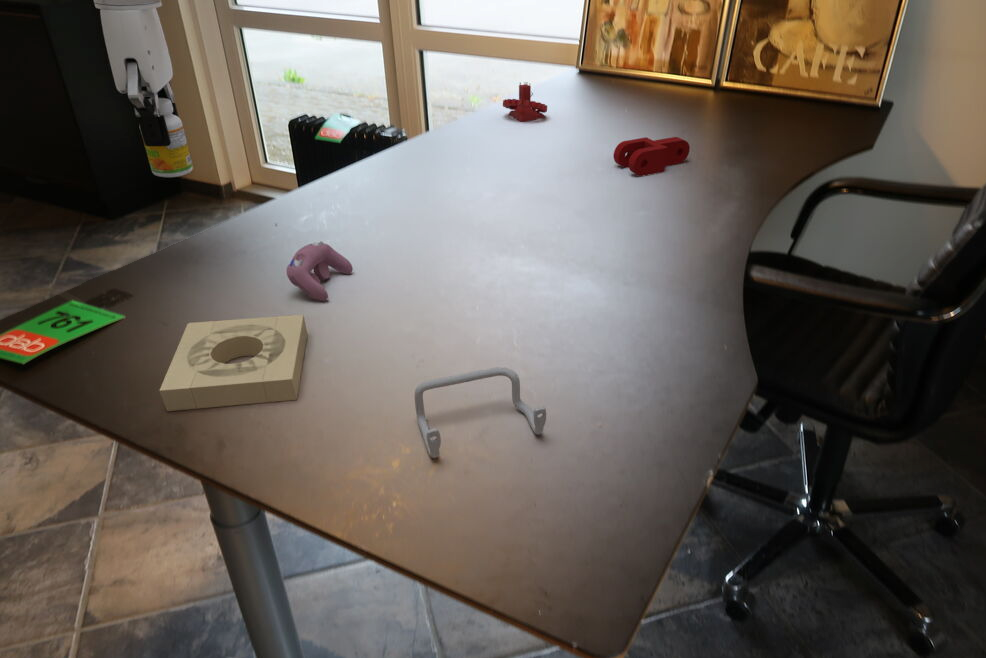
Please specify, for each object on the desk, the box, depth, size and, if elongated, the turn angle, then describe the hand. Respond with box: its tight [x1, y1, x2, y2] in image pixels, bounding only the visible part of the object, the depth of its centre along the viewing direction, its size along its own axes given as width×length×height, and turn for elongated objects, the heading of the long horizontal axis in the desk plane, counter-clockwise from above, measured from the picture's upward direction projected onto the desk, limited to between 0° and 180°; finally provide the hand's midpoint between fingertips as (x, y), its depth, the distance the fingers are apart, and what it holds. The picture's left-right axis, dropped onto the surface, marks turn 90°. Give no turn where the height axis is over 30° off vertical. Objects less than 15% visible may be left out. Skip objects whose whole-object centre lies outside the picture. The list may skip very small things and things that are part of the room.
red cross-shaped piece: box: [502, 82, 548, 123], centre depth 170 cm, size 11×12×8 cm
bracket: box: [414, 366, 547, 459], centre depth 76 cm, size 13×8×5 cm, turn 110°
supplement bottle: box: [139, 98, 194, 178], centre depth 98 cm, size 5×5×10 cm
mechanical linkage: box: [613, 136, 691, 177], centre depth 145 cm, size 16×7×5 cm, turn 119°
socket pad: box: [159, 314, 308, 412], centre depth 84 cm, size 14×14×3 cm
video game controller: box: [286, 241, 354, 302], centre depth 101 cm, size 10×5×7 cm, turn 168°
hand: (163, 137), depth 98 cm, fingers closed on supplement bottle, 5 cm apart
